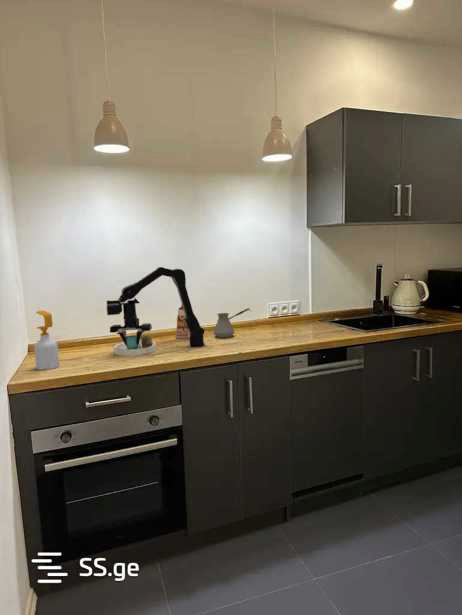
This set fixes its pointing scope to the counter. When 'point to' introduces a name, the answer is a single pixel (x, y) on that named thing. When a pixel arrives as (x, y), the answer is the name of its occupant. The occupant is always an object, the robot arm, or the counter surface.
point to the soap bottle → (46, 346)
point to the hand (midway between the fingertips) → (132, 345)
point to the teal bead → (131, 342)
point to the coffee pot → (225, 325)
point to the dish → (122, 349)
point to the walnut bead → (146, 341)
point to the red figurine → (181, 327)
